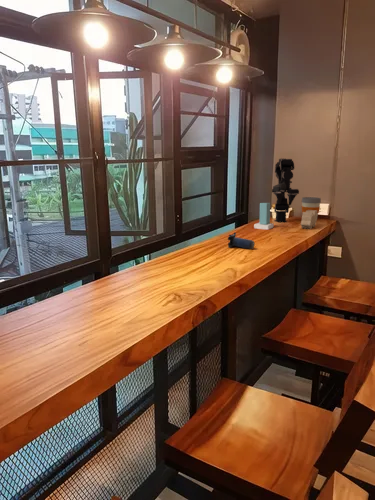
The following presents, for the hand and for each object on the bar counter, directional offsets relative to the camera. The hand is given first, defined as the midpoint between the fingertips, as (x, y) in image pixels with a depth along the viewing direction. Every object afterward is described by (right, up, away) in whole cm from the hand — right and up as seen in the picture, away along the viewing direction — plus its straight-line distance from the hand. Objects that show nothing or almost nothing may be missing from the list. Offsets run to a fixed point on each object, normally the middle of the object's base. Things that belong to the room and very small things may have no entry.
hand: (284, 204), depth 248 cm
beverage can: (-35, -28, -57) cm, 73 cm away
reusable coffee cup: (+23, -8, +23) cm, 34 cm away
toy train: (+14, -15, -4) cm, 21 cm away
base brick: (-14, -15, -6) cm, 22 cm away
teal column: (-14, -12, -6) cm, 20 cm away
